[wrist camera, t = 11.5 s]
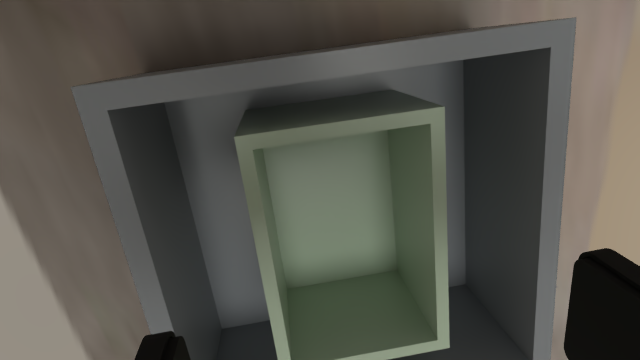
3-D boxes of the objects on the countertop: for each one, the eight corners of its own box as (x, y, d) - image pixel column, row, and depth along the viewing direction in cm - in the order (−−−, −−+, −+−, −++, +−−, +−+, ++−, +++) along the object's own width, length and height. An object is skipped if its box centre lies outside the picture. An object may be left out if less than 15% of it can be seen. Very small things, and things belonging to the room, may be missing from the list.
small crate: (278, 293, 22) (281, 379, 16) (245, 110, 18) (234, 136, 13) (404, 271, 22) (449, 347, 16) (392, 89, 19) (444, 106, 13)
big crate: (143, 73, 18) (70, 86, 12) (471, 28, 19) (576, 17, 13) (212, 333, 23) (188, 449, 16) (472, 285, 24) (549, 375, 17)
